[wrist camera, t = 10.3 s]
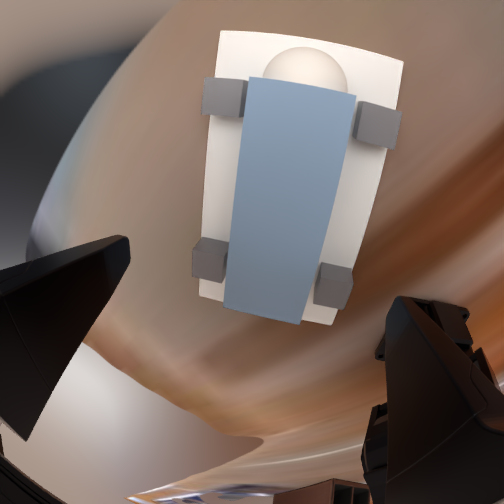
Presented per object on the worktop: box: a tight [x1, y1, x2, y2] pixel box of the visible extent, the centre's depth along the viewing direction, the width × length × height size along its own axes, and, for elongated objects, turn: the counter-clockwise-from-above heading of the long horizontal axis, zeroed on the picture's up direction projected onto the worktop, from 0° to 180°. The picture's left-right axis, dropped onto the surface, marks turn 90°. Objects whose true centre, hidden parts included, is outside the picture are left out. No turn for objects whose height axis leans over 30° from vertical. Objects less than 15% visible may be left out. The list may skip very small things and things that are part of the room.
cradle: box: [192, 31, 403, 325], centre depth 17 cm, size 18×10×3 cm, turn 173°
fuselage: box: [223, 47, 356, 325], centre depth 15 cm, size 14×4×4 cm, turn 173°
